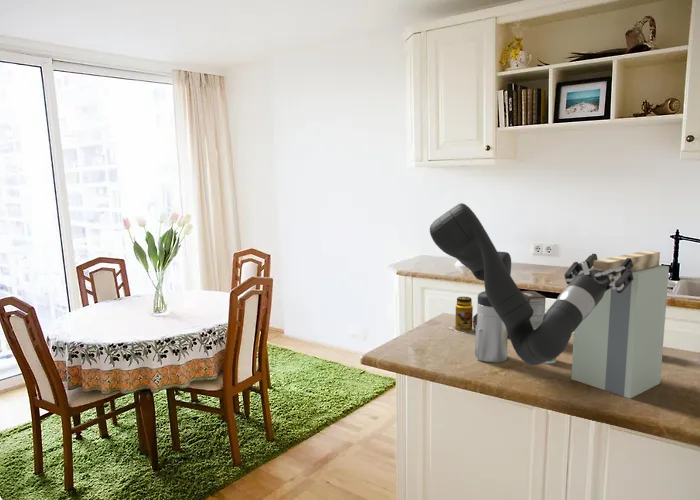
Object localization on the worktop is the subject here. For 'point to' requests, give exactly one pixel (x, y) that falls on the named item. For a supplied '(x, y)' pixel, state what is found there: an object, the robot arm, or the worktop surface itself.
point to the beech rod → (638, 259)
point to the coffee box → (536, 307)
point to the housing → (624, 336)
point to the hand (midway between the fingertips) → (612, 258)
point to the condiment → (463, 315)
